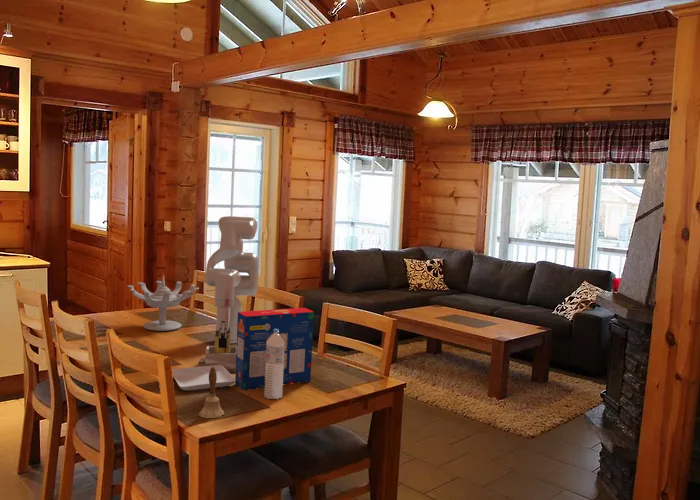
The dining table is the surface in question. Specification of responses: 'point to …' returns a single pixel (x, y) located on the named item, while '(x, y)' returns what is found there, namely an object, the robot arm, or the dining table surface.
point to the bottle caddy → (220, 359)
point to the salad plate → (202, 377)
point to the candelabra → (162, 303)
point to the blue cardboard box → (252, 345)
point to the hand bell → (212, 399)
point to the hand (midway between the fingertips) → (222, 344)
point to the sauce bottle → (217, 349)
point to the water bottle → (274, 366)
